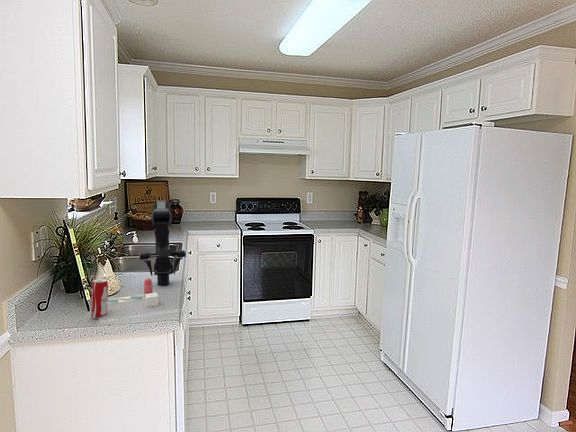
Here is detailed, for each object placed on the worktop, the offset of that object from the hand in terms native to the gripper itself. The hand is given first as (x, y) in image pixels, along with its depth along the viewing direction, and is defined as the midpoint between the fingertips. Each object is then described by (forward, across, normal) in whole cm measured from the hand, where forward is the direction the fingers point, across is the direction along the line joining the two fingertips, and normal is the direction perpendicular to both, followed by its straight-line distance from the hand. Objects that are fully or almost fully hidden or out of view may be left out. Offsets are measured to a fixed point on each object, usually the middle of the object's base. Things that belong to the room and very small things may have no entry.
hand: (163, 275), depth 165 cm
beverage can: (+14, -25, -1) cm, 29 cm away
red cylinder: (+10, -5, +12) cm, 17 cm away
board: (+12, -13, +12) cm, 21 cm away
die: (+13, -5, +2) cm, 14 cm away
